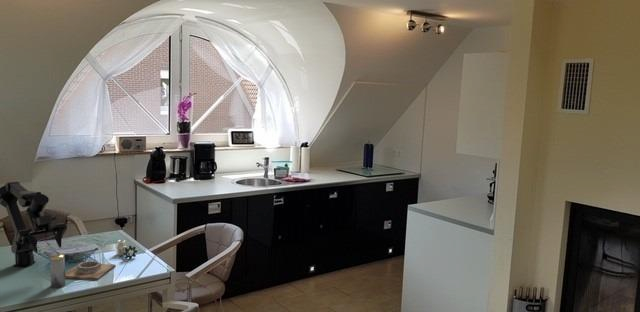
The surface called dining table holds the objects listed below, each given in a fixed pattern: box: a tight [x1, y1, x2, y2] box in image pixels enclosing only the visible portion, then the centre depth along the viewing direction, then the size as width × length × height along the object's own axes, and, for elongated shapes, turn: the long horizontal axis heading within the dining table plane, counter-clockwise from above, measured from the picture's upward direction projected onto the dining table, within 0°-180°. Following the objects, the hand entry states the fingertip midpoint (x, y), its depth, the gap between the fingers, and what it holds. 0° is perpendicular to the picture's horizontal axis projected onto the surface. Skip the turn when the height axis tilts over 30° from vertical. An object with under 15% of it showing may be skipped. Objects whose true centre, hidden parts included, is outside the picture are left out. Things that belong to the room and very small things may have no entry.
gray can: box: [49, 253, 66, 289], centre depth 204 cm, size 5×5×12 cm
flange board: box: [65, 260, 117, 281], centre depth 220 cm, size 16×16×4 cm
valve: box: [116, 239, 138, 260], centre depth 242 cm, size 7×7×12 cm
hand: (48, 249), depth 207 cm, fingers open, 9 cm apart
